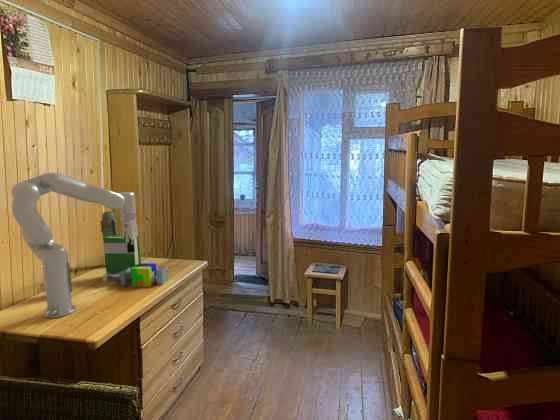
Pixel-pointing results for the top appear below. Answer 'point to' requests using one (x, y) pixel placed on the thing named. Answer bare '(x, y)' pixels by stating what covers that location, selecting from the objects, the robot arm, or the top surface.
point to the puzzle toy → (143, 274)
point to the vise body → (161, 274)
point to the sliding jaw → (120, 276)
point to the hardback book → (120, 253)
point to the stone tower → (109, 224)
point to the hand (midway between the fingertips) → (131, 252)
